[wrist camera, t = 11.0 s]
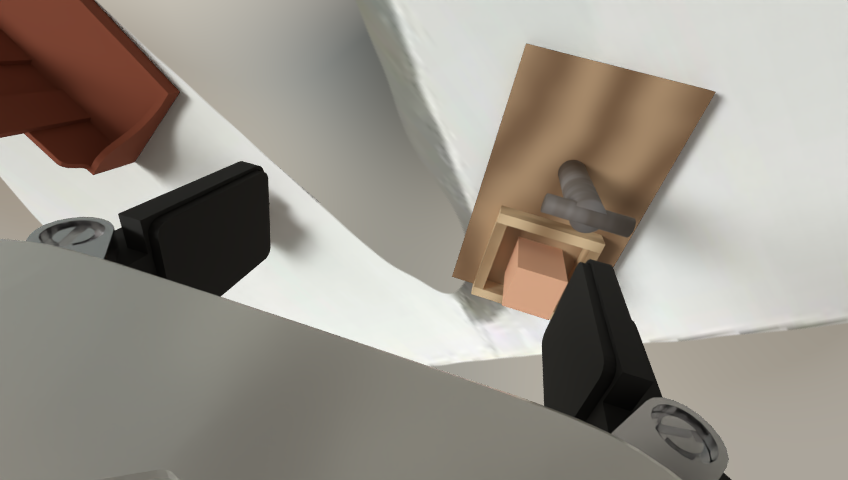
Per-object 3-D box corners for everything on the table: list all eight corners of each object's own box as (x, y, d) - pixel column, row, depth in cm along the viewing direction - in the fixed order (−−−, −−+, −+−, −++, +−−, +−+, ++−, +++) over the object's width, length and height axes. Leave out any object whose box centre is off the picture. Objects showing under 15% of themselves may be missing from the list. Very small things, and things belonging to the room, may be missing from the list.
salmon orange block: (562, 249, 38) (567, 282, 33) (545, 284, 40) (548, 320, 35) (518, 236, 38) (517, 267, 33) (504, 271, 41) (502, 305, 35)
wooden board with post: (709, 90, 30) (799, 115, 20) (581, 311, 42) (599, 395, 32) (526, 43, 31) (526, 45, 21) (453, 270, 44) (433, 338, 34)
